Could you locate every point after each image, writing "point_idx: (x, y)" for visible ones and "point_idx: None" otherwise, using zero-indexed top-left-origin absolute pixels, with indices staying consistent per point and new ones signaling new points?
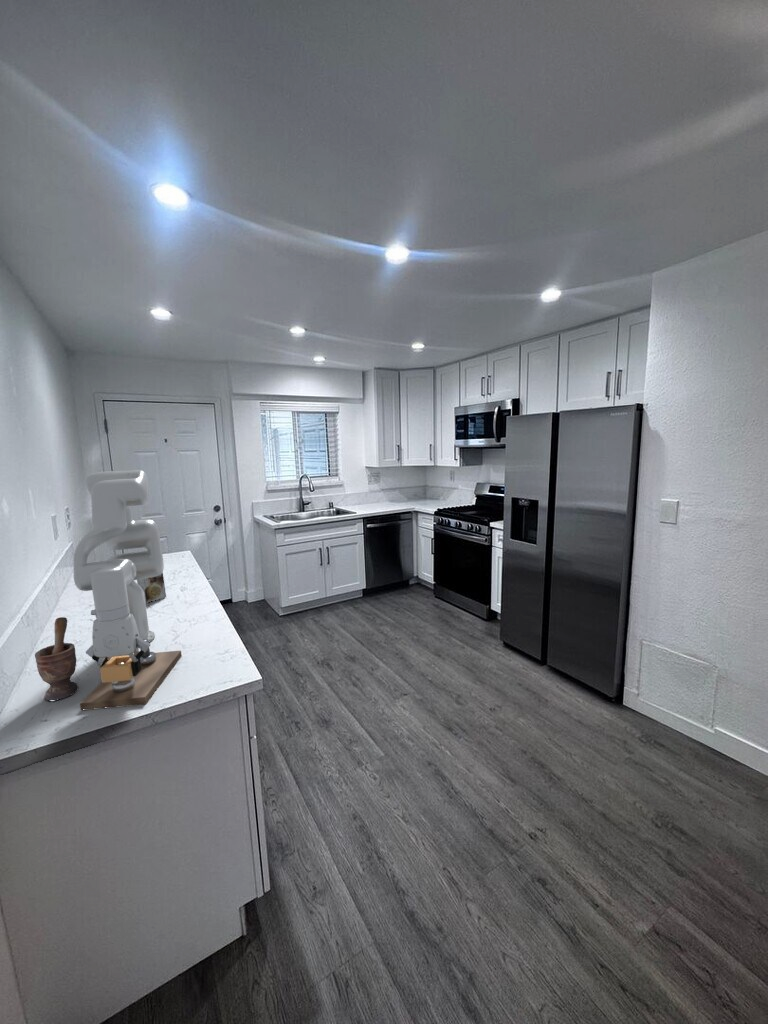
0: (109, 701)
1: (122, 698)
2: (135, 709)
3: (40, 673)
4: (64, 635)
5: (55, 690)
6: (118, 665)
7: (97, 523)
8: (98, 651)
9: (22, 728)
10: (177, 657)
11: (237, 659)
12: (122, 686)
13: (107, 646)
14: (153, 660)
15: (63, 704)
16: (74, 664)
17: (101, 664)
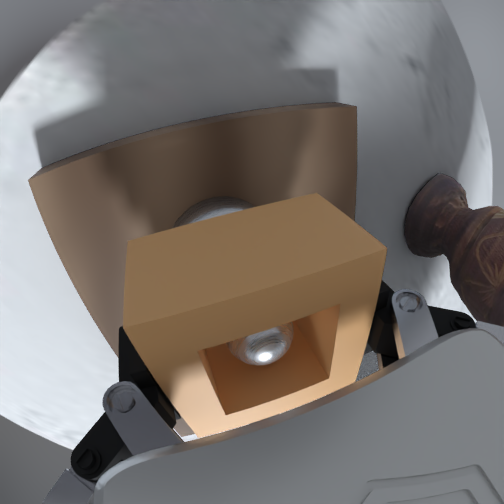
0: (215, 121)
1: (147, 145)
2: (62, 119)
3: None
4: None
5: (456, 199)
6: (238, 321)
7: None
8: (494, 379)
9: (442, 41)
10: None
11: (8, 414)
12: (196, 221)
13: (448, 489)
14: None
15: (410, 155)
16: (471, 288)
17: (394, 298)
